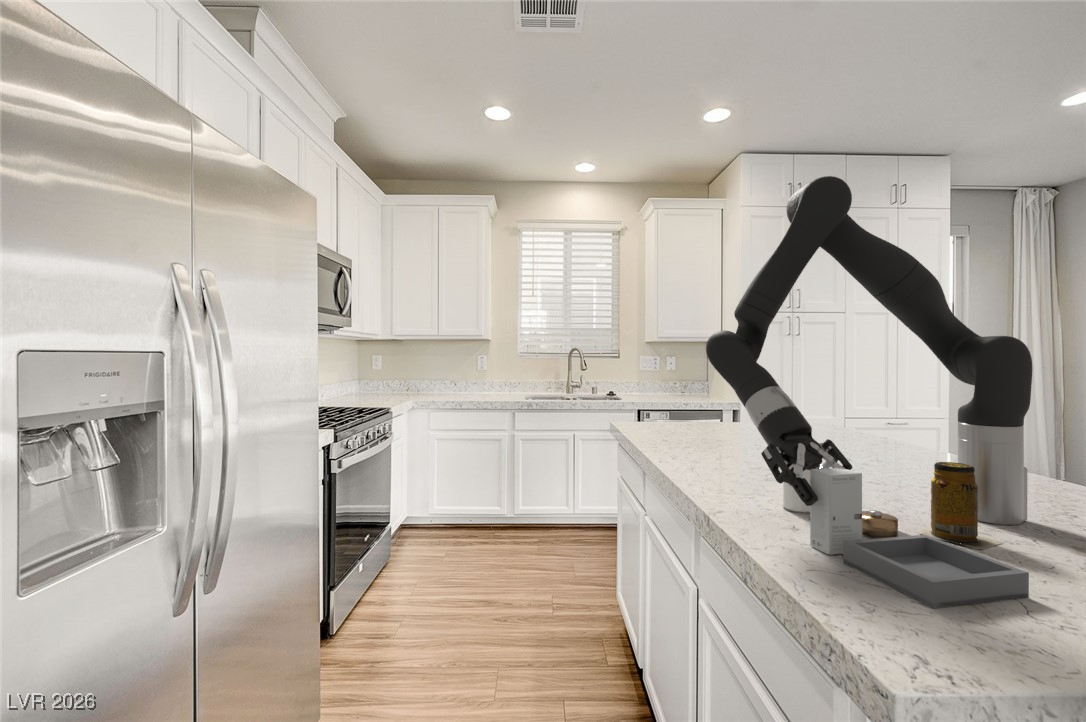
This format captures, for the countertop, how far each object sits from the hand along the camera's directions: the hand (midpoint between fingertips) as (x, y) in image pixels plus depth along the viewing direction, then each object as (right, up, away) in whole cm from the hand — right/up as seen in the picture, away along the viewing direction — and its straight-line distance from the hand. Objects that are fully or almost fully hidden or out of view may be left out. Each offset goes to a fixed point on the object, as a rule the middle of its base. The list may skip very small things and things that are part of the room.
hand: (834, 500), depth 81 cm
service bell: (+9, -7, +5) cm, 13 cm away
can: (+5, -7, +21) cm, 23 cm away
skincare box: (0, -8, 0) cm, 8 cm away
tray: (+6, -7, -11) cm, 15 cm away
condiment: (+23, -8, +4) cm, 24 cm away
